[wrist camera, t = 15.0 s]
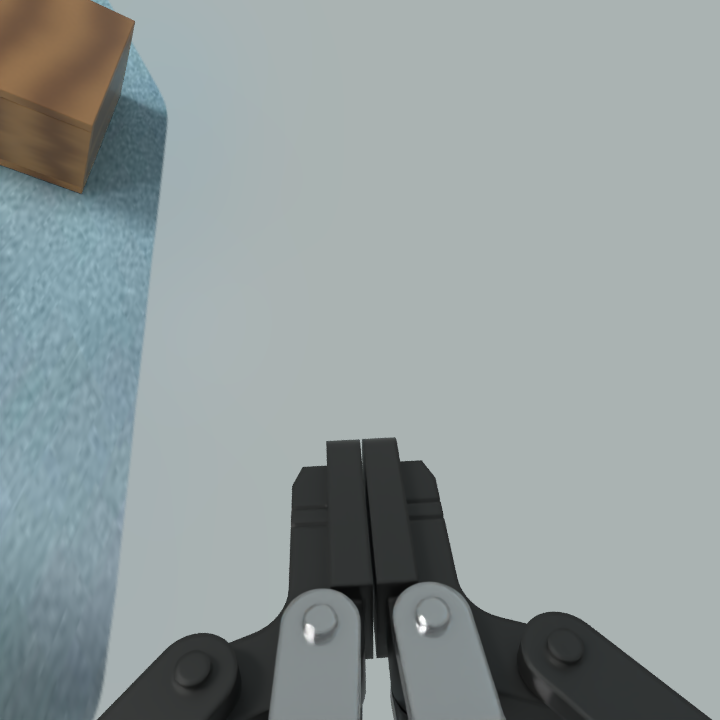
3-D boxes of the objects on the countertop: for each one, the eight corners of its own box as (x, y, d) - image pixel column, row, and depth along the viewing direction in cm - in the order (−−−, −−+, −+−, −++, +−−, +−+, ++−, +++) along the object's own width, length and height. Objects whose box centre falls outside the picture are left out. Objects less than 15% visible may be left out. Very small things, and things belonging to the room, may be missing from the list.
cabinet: (-128, 119, 49) (-149, 29, 42) (-61, 17, 55) (-70, -75, 49) (81, 194, 55) (92, 125, 48) (120, 94, 61) (135, 20, 54)
